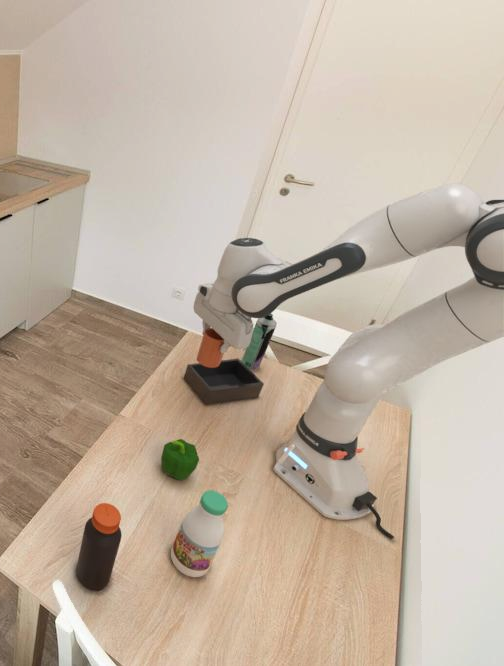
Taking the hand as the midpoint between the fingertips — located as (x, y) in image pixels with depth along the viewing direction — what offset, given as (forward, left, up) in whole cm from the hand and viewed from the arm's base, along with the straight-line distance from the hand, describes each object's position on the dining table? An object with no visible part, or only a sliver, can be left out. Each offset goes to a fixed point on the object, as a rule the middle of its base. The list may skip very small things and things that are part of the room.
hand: (213, 343), depth 129 cm
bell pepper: (-23, +19, -21) cm, 37 cm away
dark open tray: (+4, -11, -21) cm, 24 cm away
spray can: (+12, -27, -21) cm, 36 cm away
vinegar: (-44, +49, -21) cm, 69 cm away
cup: (0, 0, -6) cm, 6 cm away
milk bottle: (-45, +28, -21) cm, 57 cm away
